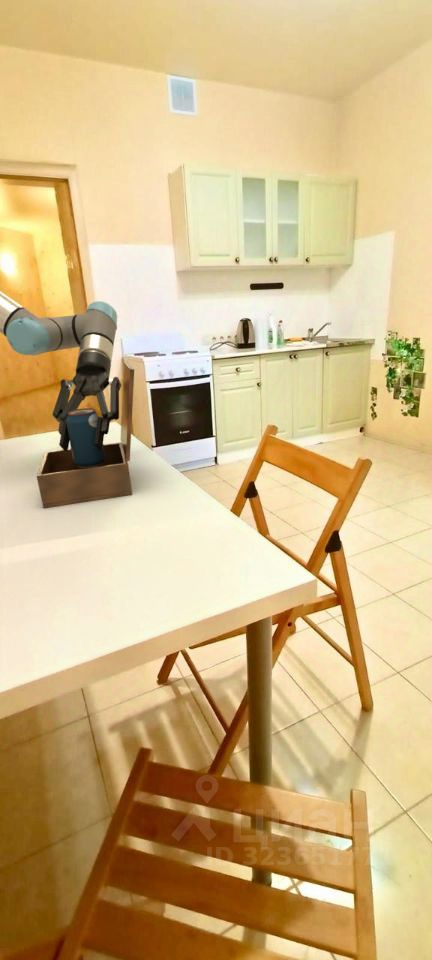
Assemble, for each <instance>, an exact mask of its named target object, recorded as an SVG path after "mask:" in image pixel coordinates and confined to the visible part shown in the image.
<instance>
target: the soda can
mask: <svg viewBox="0 0 432 960" xmlns="http://www.w3.org/2000/svg"><path fill="white" fill-rule="evenodd" d="M98 417H100V416H99V415H98V414H97V412H96V409H95V408H93V407H86V408H84V407H83V408H78V409H76V410H72V411H69V412H68V417H67V420H66V423H67V429H68V434H69V440H70V441H69V446H70V449H71V451H72V456H73V461H74V463H75V464H76V465H77V466H78V467H80V468H91V467H96V466H99V465H101V464H102V463H103V461H104V459H105V451H104V444H103V446H102V450H98V448H97V447H96V445H95V444H94V441H95V435H96V428H97V421H98Z"/></svg>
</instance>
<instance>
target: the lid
mask: <svg viewBox="0 0 432 960" xmlns="http://www.w3.org/2000/svg"><path fill="white" fill-rule="evenodd" d="M122 374H123V375H122V395H121V396H122V399H121V417H120V418H121V421H120V442H121V444H122V448H123V452H124V456H125V460H126V461H127V462H131V444H132V427H133V426H132V424H133V423H132V422H133V405H134V404H133V403H134V385H135V368H133V366H132V365H131V364H130V363H129V362H128V361H123V373H122Z"/></svg>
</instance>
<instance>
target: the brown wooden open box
mask: <svg viewBox="0 0 432 960" xmlns="http://www.w3.org/2000/svg"><path fill="white" fill-rule="evenodd" d="M103 445H104V451H105V459H104V461H103V463H102V464H101V465H99V466H96V467H91V468H80V467H78V466H77V465H76V464H75V463H74V461H73V456H72V451H71V448H68V451H64V450H63V449H57V450H51V451H50V450H49V451H44V454H43V456H42V457H43V458H42V459H41V462H40V464H39V468H38V471H37V473H36V481H37V485H38V489H39V494H40V499H41V503H42V508H43V509H47V508H53V507H60V506H61V507H62V506H67V505H74V504H79V503H85V502H92V501H99V500H106V499H113V498H119V497H125V496H132V495H133V489H132V482H131V475H130V468H129V461H126V460H125V456H124V452H123V448H122V444H121V441H120V442H113V443H103Z"/></svg>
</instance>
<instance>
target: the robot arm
mask: <svg viewBox="0 0 432 960" xmlns="http://www.w3.org/2000/svg"><path fill="white" fill-rule="evenodd" d="M117 329H118V313H117V311H116V309H115V308H114V307H113V306H112V305H111V304H109V303H108V302H104V301H100V300H99V301H98V300H96V301H93V302H91V303H90V304H88V306H87V308H86V309H85V313H78V314H72V315H63V316H51V317H49V316H48V317H39V316H38V315H36V314H34V313H33V312H31V311H30V310H28V309H27V308H25V307H24V306H23V305H21V304H20V303H18V302H17V301H15V300H14V299H12V298H11V297H9V296H8V295H7V294H5V293H4V292H2V291H1V290H0V334H2V335H3V336H4V337H6V341H7V342H8V344H9V346H10V347H11V349H12V350H13V351H14V352H15V353H18V354H20V355H22V356H39V355H42V354H46V353H49V352H57V351H61V350H68V349H75V348H79V351H78V357H77V360H76V361H77V362H76V367H75V375H74V376H73V378H72V379H71V380H66V379H64V378H63V379H61V380H60V389H59V392H58V396H57V398H56V402H55V405H54V408H53V411H52V416H53V418H54V419H55V420H56V422H57V423H59V424H58V430H57V431H58V434H59V435H60V438H59V444H58V446H59V447H60V448H61V450H64V451H68V449H69V446H70V440H69V434H68V429H67V423H66V420H67V417H68V412H69V411H72V410H76V409H79V407H80V405H81V404H82V402H83V401H85V399H86V398H87V397H90V396H92V397H96V399H97V402H98V405H99V411H100V415H101V416H99V417H98V421H97V428H96V435H95V441H94V444H95V445H96V447H97V448H98V450H102V446H103V445H104V438H105V435H108V433H109V432H110V431H109V430H110V423H111V421H117V420H119V419H120V390H121V387H122V382H121V381H120V379H119V378H120V377H118V376H114V377H113V378H111V377H110V375H111V369H112V360H113V354H114V344H115V338H116V333H117ZM73 387H74V389H73ZM107 387H110V388H109V389H110V390H109V391H110V394H109V396H110V397H109V398H110V399H109V400H110V401H109V402H110V403H109V404H110V406H109V408H108V405H107V401H106V397H105V393H104V391H105V390H106V389H107ZM72 391H73V393H72V395H71V392H72Z"/></svg>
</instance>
